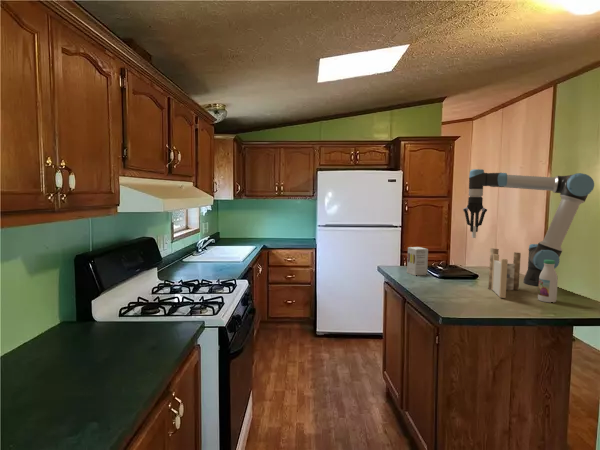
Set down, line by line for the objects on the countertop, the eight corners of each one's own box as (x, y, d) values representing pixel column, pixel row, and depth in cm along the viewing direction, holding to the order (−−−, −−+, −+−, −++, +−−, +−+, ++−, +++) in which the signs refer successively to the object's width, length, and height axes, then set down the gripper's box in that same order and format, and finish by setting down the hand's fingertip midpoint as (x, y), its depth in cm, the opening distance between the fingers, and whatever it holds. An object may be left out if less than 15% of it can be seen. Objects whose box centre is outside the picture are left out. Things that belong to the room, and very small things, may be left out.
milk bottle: (551, 299, 198) (553, 259, 196) (559, 303, 190) (562, 261, 189) (534, 298, 199) (537, 258, 197) (542, 302, 191) (545, 261, 189)
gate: (491, 289, 214) (493, 254, 213) (500, 289, 213) (502, 254, 212) (500, 297, 197) (502, 259, 195) (510, 298, 196) (512, 259, 194)
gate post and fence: (516, 288, 219) (518, 248, 218) (520, 290, 215) (522, 249, 214) (487, 288, 219) (489, 248, 217) (490, 290, 215) (492, 249, 213)
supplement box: (406, 272, 260) (407, 247, 258) (418, 272, 263) (419, 246, 261) (415, 275, 250) (416, 249, 249) (427, 275, 253) (428, 248, 252)
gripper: (485, 196, 232) (483, 237, 233) (462, 196, 234) (460, 236, 236) (489, 196, 224) (487, 238, 226) (465, 196, 226) (463, 237, 228)
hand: (473, 237), depth 231 cm, fingers closed
